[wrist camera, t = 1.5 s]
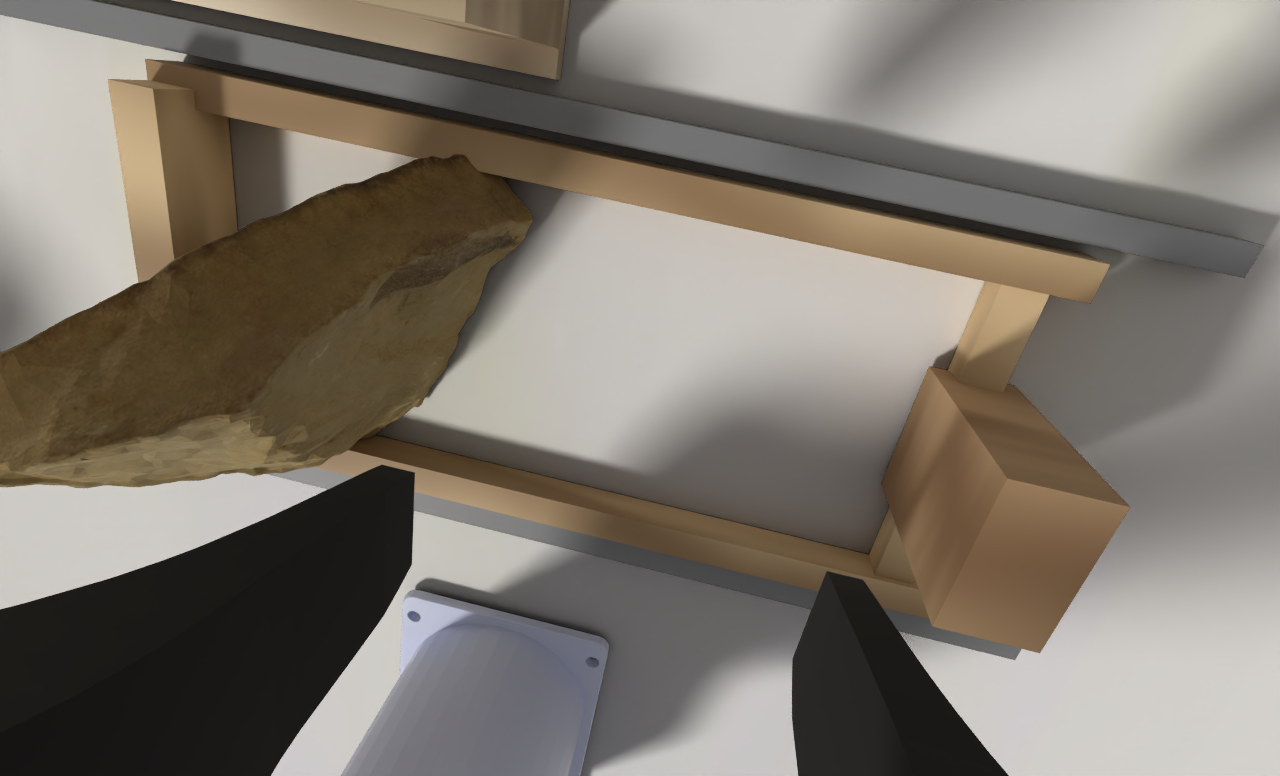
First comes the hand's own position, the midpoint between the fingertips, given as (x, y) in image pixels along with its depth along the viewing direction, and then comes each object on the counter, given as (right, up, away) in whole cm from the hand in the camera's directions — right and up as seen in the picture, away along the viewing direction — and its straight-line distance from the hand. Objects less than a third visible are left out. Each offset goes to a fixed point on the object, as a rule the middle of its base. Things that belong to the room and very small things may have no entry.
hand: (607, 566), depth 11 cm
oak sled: (-1, +4, +9) cm, 10 cm away
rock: (-7, +5, +9) cm, 12 cm away
